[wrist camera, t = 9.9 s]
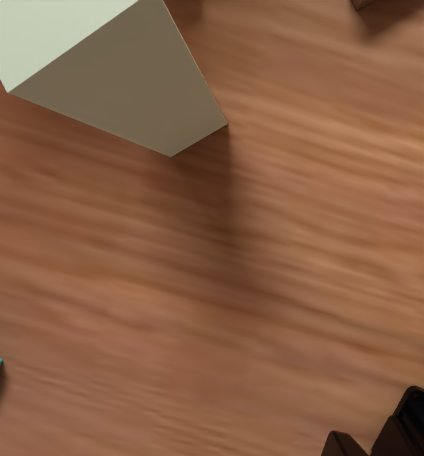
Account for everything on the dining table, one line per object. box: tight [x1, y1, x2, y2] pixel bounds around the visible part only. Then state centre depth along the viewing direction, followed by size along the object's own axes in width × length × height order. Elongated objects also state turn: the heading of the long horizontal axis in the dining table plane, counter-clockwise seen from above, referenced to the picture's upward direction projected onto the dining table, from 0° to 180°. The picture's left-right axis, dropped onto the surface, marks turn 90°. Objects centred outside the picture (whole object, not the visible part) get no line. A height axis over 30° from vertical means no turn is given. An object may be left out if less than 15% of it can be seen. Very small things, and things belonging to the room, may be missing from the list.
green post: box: [0, 0, 228, 157], centre depth 13 cm, size 4×4×13 cm
